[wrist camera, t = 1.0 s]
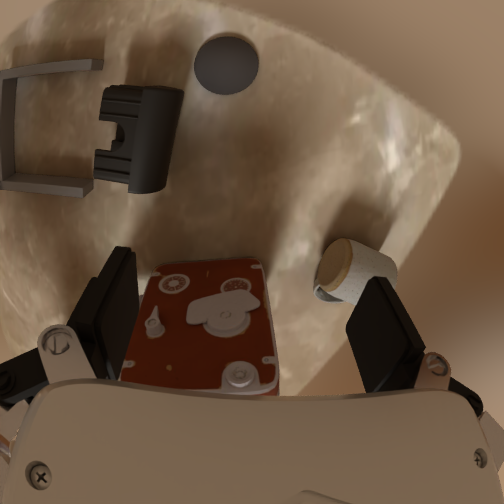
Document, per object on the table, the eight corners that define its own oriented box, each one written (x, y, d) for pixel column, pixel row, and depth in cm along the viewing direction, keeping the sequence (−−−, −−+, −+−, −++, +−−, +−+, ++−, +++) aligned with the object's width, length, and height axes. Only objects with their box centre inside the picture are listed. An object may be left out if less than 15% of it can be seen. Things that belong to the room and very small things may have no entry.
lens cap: (250, 99, 28) (251, 99, 27) (190, 90, 27) (189, 90, 26) (263, 44, 25) (264, 42, 24) (202, 34, 24) (201, 32, 23)
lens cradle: (93, 188, 32) (82, 198, 29) (8, 181, 29) (-4, 189, 27) (103, 60, 24) (92, 58, 21) (10, 70, 22) (-4, 71, 19)
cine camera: (115, 257, 37) (56, 380, 20) (262, 245, 37) (286, 384, 20) (133, 309, 42) (99, 428, 25) (264, 301, 42) (282, 432, 25)
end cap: (171, 177, 32) (158, 199, 26) (114, 167, 31) (90, 187, 25) (190, 90, 27) (178, 91, 21) (127, 81, 26) (102, 82, 20)
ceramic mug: (337, 224, 36) (357, 258, 30) (383, 245, 38) (407, 279, 32) (297, 286, 41) (307, 326, 35) (343, 301, 43) (358, 339, 37)
